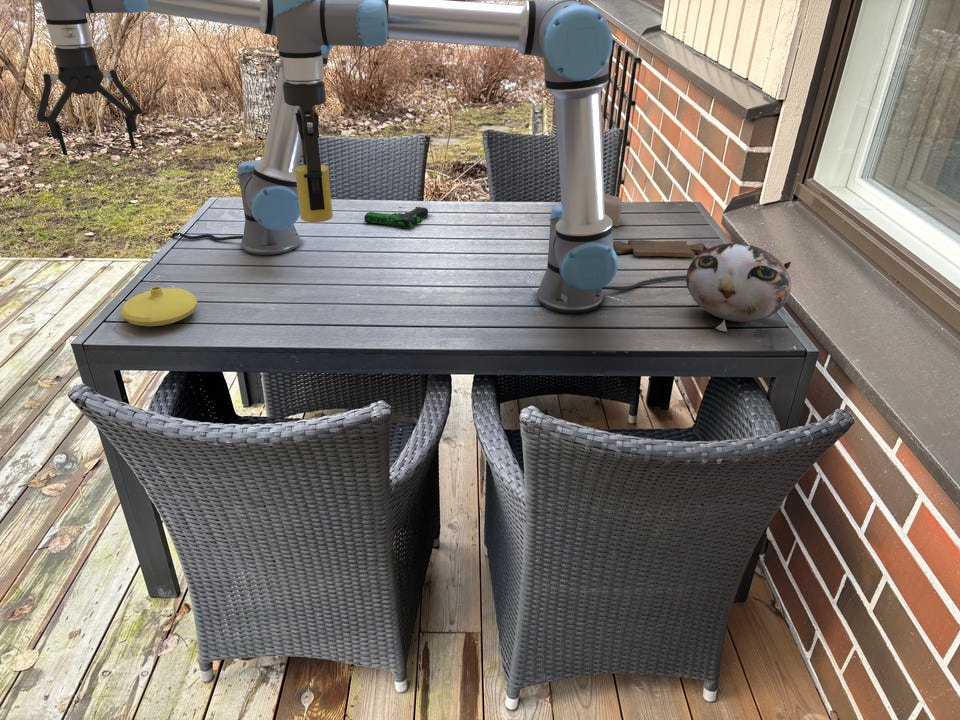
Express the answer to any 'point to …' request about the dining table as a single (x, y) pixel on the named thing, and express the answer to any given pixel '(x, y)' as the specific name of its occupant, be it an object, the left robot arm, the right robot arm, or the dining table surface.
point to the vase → (159, 306)
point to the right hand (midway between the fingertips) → (316, 203)
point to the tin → (304, 196)
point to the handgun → (398, 218)
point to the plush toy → (738, 282)
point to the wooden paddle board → (658, 248)
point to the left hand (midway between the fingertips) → (100, 150)
